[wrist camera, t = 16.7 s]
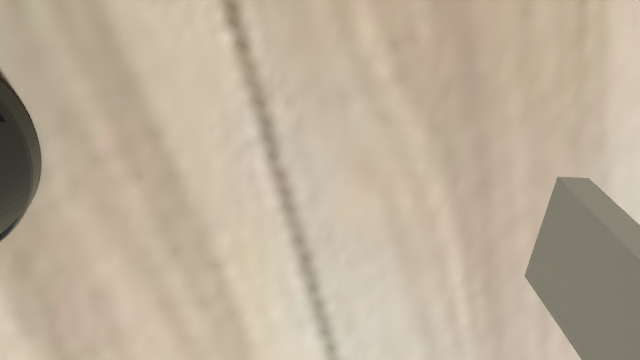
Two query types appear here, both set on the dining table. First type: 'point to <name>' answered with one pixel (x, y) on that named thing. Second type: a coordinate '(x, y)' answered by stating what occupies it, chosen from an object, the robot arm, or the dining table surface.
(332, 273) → the dining table surface
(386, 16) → the dining table surface
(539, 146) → the dining table surface
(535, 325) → the dining table surface
